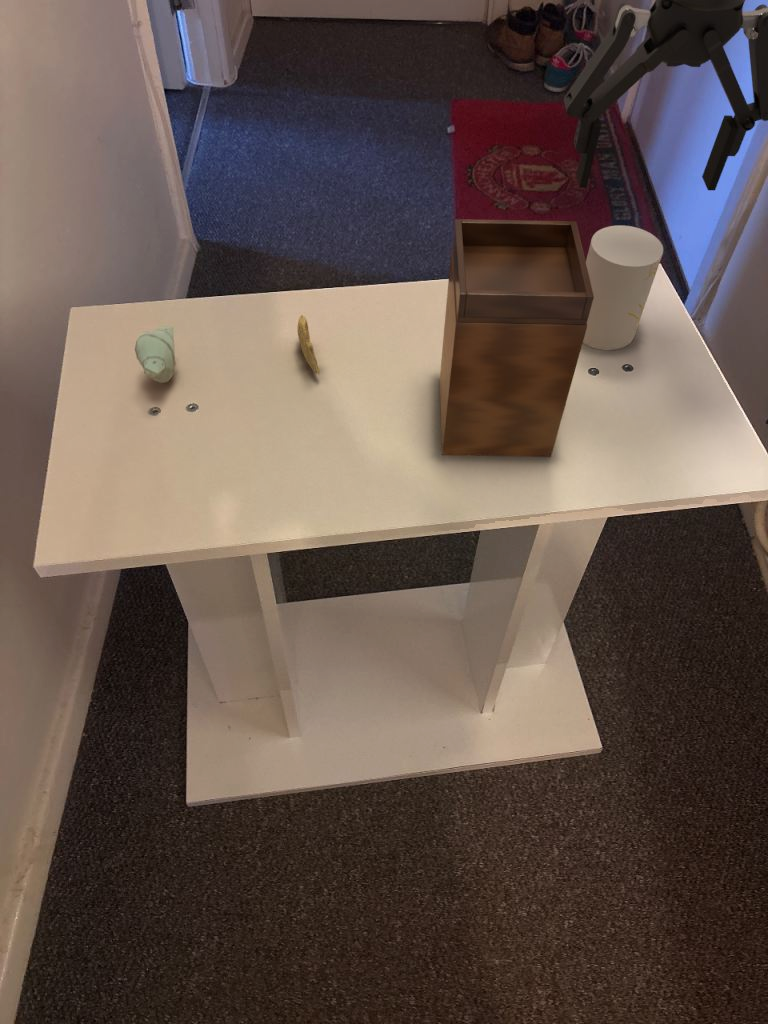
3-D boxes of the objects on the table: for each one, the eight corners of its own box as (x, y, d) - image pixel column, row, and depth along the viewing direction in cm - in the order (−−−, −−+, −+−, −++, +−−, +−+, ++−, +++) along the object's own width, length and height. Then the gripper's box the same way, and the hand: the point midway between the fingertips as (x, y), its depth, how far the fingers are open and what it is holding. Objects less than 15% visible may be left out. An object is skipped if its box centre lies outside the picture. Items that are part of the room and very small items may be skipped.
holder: (569, 249, 76) (576, 221, 73) (586, 325, 69) (594, 296, 66) (452, 247, 76) (455, 218, 73) (456, 322, 69) (459, 294, 66)
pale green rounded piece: (172, 404, 87) (159, 359, 82) (138, 402, 87) (122, 357, 82) (187, 357, 92) (175, 312, 87) (154, 356, 92) (140, 311, 87)
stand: (539, 381, 90) (570, 248, 76) (551, 456, 83) (587, 325, 69) (439, 379, 90) (451, 246, 76) (442, 454, 83) (455, 323, 69)
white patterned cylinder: (636, 353, 93) (665, 269, 84) (569, 346, 94) (591, 262, 84) (633, 312, 98) (660, 229, 89) (570, 305, 99) (591, 222, 89)
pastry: (294, 338, 95) (291, 305, 91) (306, 336, 95) (303, 303, 91) (310, 385, 89) (307, 352, 85) (323, 382, 90) (320, 350, 86)
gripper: (849, -69, 66) (751, 166, 83) (564, -74, 66) (525, 161, 83) (881, -38, 61) (771, 204, 78) (575, -44, 61) (531, 199, 78)
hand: (644, 182), depth 81 cm, fingers open, 13 cm apart
